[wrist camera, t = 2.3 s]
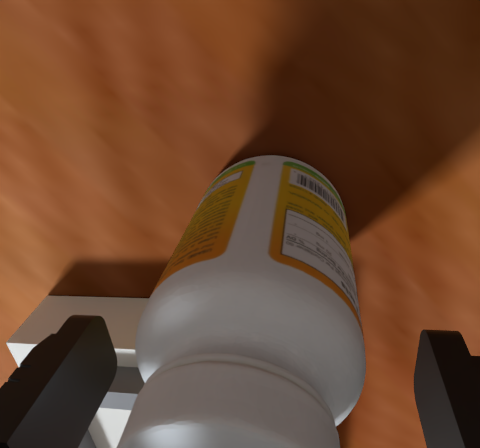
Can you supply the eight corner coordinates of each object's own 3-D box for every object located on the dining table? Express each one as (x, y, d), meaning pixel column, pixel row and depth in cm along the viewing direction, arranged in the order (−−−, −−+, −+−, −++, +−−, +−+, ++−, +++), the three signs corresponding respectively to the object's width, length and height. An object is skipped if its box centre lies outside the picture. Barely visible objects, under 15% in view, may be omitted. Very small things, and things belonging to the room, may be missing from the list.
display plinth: (47, 295, 19) (-15, 365, 16) (302, 302, 17) (298, 386, 13) (111, 446, 25) (77, 522, 21) (307, 466, 23) (306, 555, 19)
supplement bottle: (207, 271, 17) (105, 542, 9) (197, 149, 14) (33, 372, 6) (338, 281, 16) (364, 590, 8) (354, 153, 13) (416, 418, 5)
